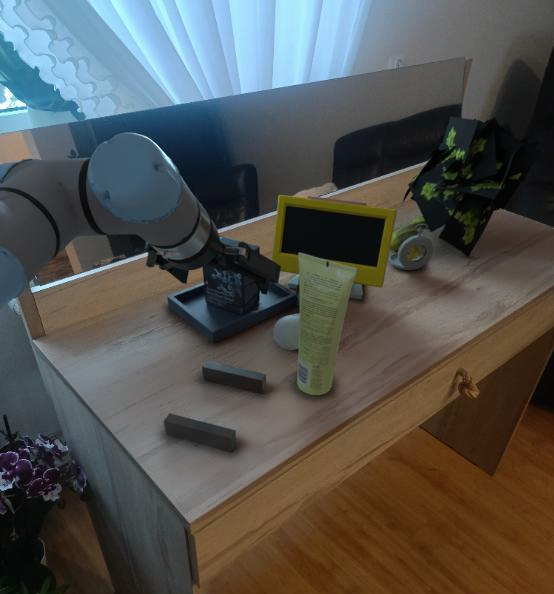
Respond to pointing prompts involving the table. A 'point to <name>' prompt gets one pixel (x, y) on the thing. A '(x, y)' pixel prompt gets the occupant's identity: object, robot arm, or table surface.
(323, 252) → the toy computer monitor
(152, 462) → the table surface
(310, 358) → the tube
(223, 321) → the tray
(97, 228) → the robot arm
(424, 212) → the potted plant
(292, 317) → the figurine
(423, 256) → the pocket watch
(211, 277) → the box
